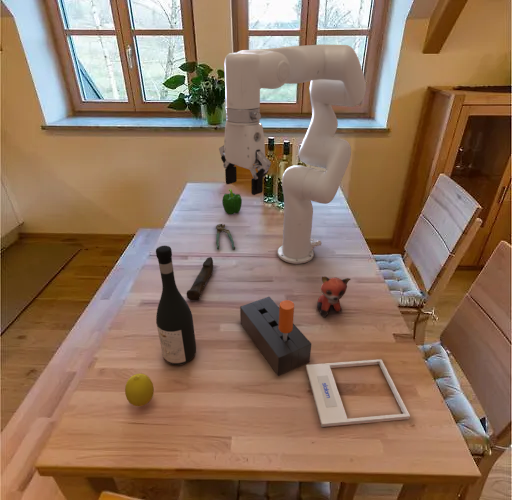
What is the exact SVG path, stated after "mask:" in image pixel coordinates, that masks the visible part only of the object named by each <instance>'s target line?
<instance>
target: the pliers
mask: <svg viewBox="0 0 512 500" xmlns="http://www.w3.org/2000/svg"><path fill="white" fill-rule="evenodd" d="M225 227H226V224H223V223H219V224H217V225H215V230H216V236H215V237H216V239H215V241H216V242H215V244H216V250H217V251H218V250H220V243H219V241H220V234H221V233H222V232H223V233H225V234H226V235H227V237H228V239H229V241H230V243H231V248H232V250H235V249H236V247H235V243H234V239H233V236H232V234H231V231H230V229H227V228H225Z"/></svg>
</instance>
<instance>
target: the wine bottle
mask: <svg viewBox="0 0 512 500" xmlns="http://www.w3.org/2000/svg"><path fill="white" fill-rule="evenodd" d="M155 254H156V255H155V257H156V258H157V261H158V262H157V263H158V266H159V272H160V278H161V284H162V287H161V288H162V291H161V296H160V299H159V302H158V305H157V308H156V317H155V323H156V329H157V333H158V338H159V343H160V350H161V355H162V357H163V359H164V361H165V362H166V363H168V365H172V366H182V365H185V364H187V363H189V362H191V361H192V360H193V359H194V358H195V355H196V353H197V342H196V341H197V340H196V334H195V326H194V325H195V324H194V317H193V313H192V310H191V308H190V306H189V304H188V302H187V301H186V300H185V298H184V296H183V295H182V294H181V292H180V290H179V289H178V286H177V284H176V278H175V271H174V263H173V257H172V256H173V250H172V248H171V247H170V246H169V245H160V246H157V248H156V249H155Z"/></svg>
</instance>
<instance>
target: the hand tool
mask: <svg viewBox="0 0 512 500" xmlns="http://www.w3.org/2000/svg"><path fill="white" fill-rule="evenodd" d="M213 270H214V260H213V257H212V256H210V257H207V258H206V259H205V260H204V262H203V263H202V267H201V269H200V271H199V273H198V275H197V276H196V278H195V279H194V281H193V284H192V285H191V286H190V288H189V289H188V290H187V291H186V297H187V298H186V299H188V300H189V301H192V302H198V301H200V298H201V295H202V293H203V291H204V289H205V286H206V285H207V282H208V280H209V278H210V277H211V276H212V274H213V272H214V271H213Z"/></svg>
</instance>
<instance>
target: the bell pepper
mask: <svg viewBox="0 0 512 500" xmlns="http://www.w3.org/2000/svg"><path fill="white" fill-rule="evenodd" d="M228 191H229V193H225V194H223V196H222V200H221V201H222V203H221V204H222V206H223V209H224V212H225V213H226V214H228V215H229V216H230V215H235V214H239V213H240V211H241V209H242V205H243V201H242V200H243V198H242V197H241V194H240V193H237V194H236V193H235V192H233V189H231V188H230V189H228Z"/></svg>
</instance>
